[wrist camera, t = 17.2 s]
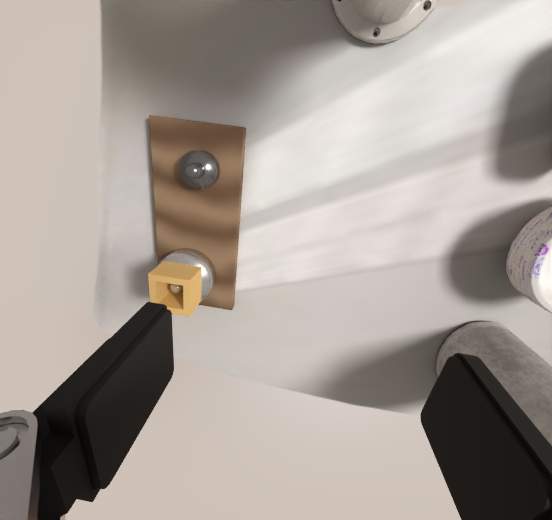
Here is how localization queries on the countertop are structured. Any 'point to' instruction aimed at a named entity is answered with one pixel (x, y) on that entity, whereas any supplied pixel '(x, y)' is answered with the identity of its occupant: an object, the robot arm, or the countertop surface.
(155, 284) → the hollow square block
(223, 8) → the countertop surface
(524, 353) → the grey bottle
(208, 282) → the hub
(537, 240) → the paper bowls
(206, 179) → the round drawer knob
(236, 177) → the board
